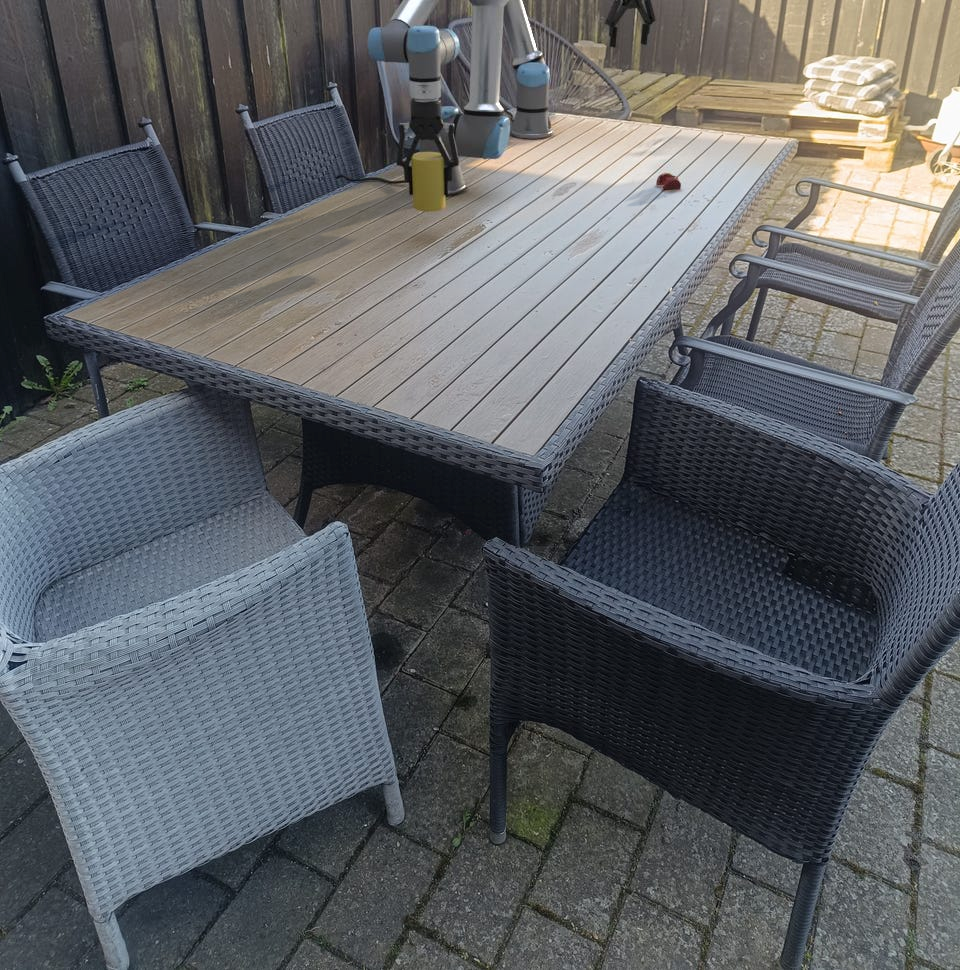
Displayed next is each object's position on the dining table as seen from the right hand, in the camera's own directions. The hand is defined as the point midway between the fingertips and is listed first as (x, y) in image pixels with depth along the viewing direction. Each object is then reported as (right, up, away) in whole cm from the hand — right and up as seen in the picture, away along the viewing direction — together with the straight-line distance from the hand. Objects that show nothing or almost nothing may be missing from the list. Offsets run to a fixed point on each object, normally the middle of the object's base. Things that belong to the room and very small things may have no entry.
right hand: (628, 45), depth 308 cm
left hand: (-67, -85, -90) cm, 141 cm away
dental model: (+4, -69, -48) cm, 84 cm away
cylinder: (-67, -88, -89) cm, 142 cm away
